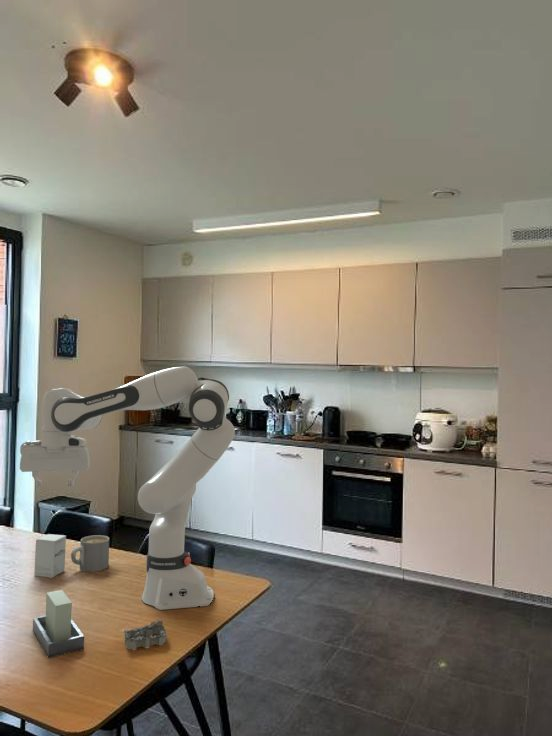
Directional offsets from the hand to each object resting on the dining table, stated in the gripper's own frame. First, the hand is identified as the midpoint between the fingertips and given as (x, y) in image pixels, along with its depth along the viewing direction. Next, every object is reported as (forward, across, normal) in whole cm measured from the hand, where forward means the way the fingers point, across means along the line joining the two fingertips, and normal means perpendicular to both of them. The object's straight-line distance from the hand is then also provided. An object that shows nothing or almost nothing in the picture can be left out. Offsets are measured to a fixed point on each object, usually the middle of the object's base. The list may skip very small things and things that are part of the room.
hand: (55, 486), depth 170 cm
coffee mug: (+33, +5, +33) cm, 47 cm away
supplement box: (+33, -7, +27) cm, 44 cm away
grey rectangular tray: (+37, +6, -22) cm, 44 cm away
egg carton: (+39, +29, -26) cm, 55 cm away
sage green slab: (+36, +6, -22) cm, 43 cm away
